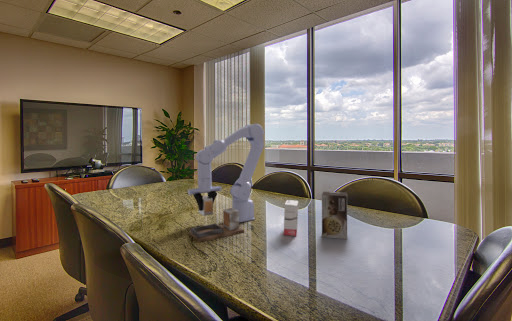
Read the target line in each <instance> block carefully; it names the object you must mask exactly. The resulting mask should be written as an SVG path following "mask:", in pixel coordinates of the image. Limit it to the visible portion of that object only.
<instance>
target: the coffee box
mask: <svg viewBox="0 0 512 321" xmlns="http://www.w3.org/2000/svg"><path fill="white" fill-rule="evenodd" d="M321 237H322V238H329V239H330V238H331V239H341V240H347V239H348V192H344V191H322V194H321Z"/></svg>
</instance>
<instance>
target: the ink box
mask: <svg viewBox="0 0 512 321" xmlns="http://www.w3.org/2000/svg"><path fill="white" fill-rule="evenodd" d="M283 216H284V217H283V218H284V219H283V236H290V237H291V236H292V237H293V236H294V237H296V236H297V232H298V225H299V224H298V221H299V220H298V219H299V217H298V216H299V200H293V199H292V200H291V199H287V200H285V203H284V215H283Z"/></svg>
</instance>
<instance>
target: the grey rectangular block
mask: <svg viewBox="0 0 512 321" xmlns="http://www.w3.org/2000/svg"><path fill="white" fill-rule="evenodd" d="M202 196H203V198H202V211H200V210H199V209H198V213H199V215H202V216H204V217H206V216H211V215H214V209H213V208H214V203H213V198H211V197H209V196H208V195H202Z"/></svg>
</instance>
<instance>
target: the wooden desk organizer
mask: <svg viewBox="0 0 512 321" xmlns="http://www.w3.org/2000/svg"><path fill="white" fill-rule="evenodd" d="M222 212H223V213H222V214H223V216H222V218H223V224H216V223H211V224H206V225H202V226H201V225H200V226H196V227H191V228H190V230H188V234H189V235H190V236H191V237H193V238H194V239H195V240H196V241H197V242H198V243H201V242H206V241H211V240H215V239H221V238H224V237H229V236H234V235H237V234H243V233H245V229H244V228H242V227H240V222H239V211H238V210H235V209H233V208H232V207H230V208H225V209H224V208H223V210H222Z"/></svg>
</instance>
